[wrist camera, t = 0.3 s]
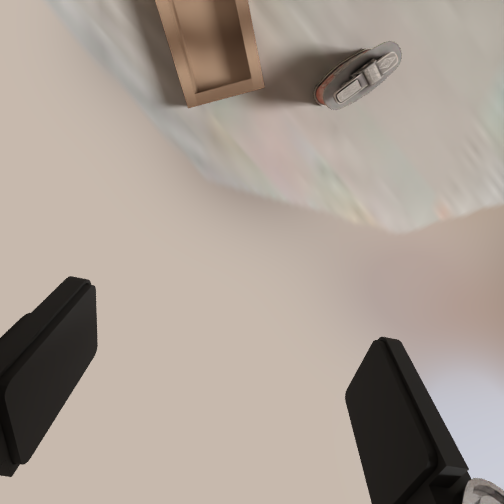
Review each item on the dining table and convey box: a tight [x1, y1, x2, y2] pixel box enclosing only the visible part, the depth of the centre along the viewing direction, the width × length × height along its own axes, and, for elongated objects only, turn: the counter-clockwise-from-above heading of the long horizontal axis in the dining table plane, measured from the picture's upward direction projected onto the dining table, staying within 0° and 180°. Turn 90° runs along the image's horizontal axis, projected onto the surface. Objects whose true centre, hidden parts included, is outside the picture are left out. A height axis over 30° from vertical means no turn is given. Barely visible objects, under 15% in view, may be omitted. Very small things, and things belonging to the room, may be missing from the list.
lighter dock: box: [155, 0, 265, 108], centre depth 34 cm, size 13×9×4 cm
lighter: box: [314, 41, 402, 110], centre depth 33 cm, size 8×3×10 cm, turn 126°
